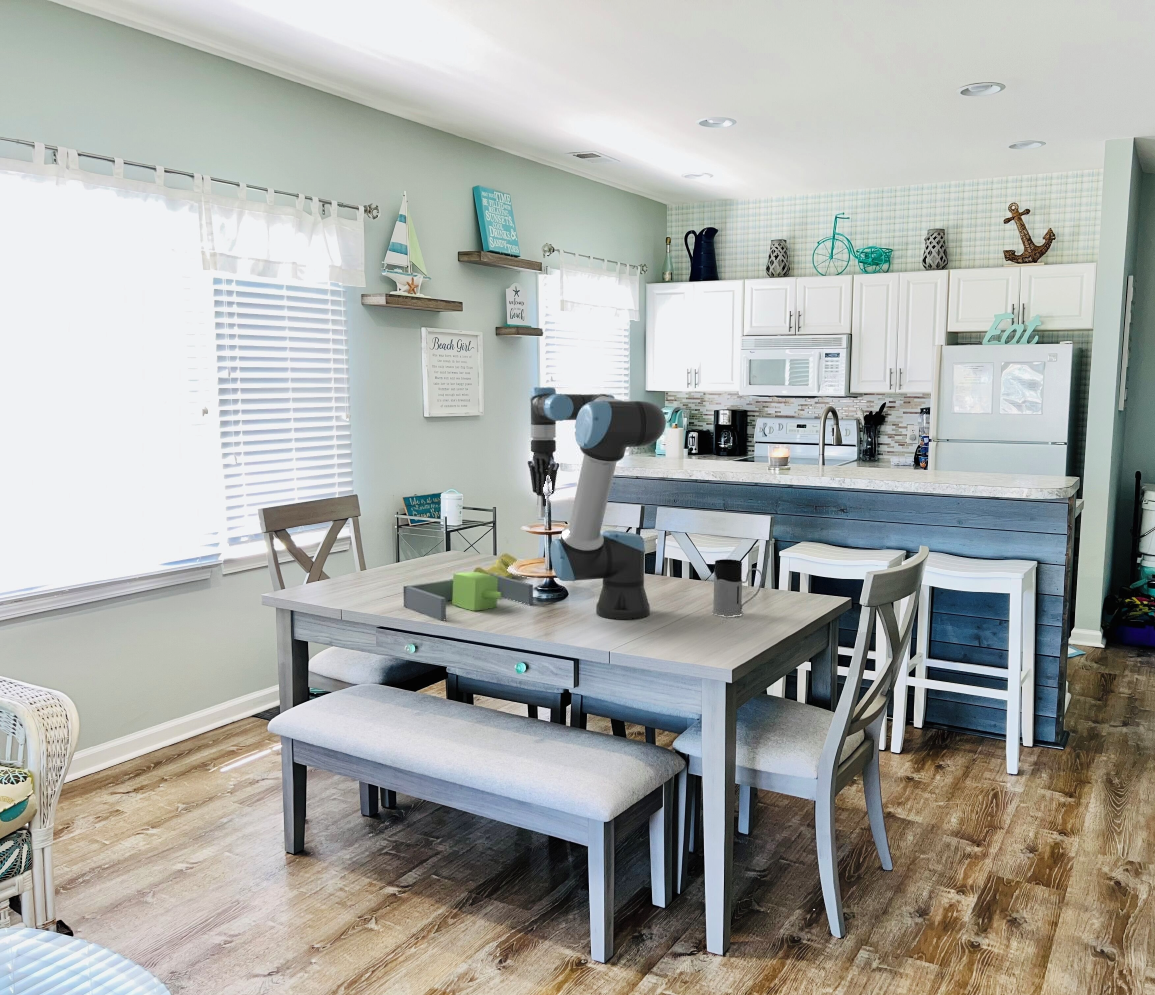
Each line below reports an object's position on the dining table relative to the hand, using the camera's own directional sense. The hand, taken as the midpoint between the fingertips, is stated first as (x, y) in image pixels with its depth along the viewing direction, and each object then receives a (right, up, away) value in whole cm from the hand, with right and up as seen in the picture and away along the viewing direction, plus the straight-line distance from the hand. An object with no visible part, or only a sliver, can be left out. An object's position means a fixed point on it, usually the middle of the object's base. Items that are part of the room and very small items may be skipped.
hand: (543, 516), depth 285 cm
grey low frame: (-21, -26, -11) cm, 35 cm away
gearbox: (-18, -26, -11) cm, 34 cm away
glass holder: (+55, -27, -21) cm, 65 cm away
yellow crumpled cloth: (-16, -22, +28) cm, 39 cm away
